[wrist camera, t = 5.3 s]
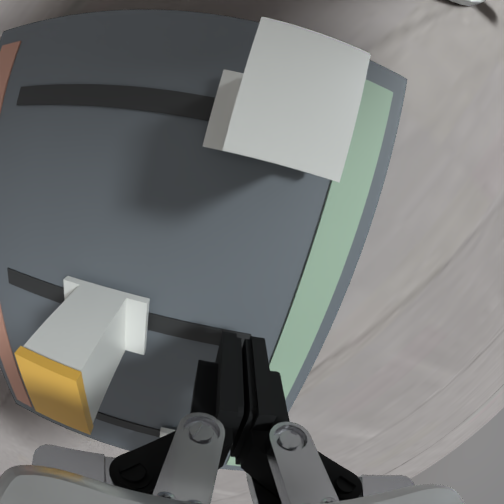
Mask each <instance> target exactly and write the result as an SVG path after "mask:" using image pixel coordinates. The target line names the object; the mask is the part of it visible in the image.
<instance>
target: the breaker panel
mask: <svg viewBox="0 0 504 504" xmlns="http://www.w3.org/2000/svg"><path fill="white" fill-rule="evenodd" d="M258 26H259V22H255V21H250V20H245V19H240V18H234V17H228V16H222V15H215V14H208V13H199V12H189V11H175V10H114V11H101V12H91V13H83V14H76V15H69V16H63V17H58V18H53V19H48V20H43V21H39V22H35V23H31V24H27V25H23V26H20V27H16V28H13V29H9V30H6V31H4V32H3V34H2V37H1V39H0V366H1V369H2V372H3V374H4V377H5V379H6V382H7V384H8V386H9V389H10V391H11V393H12V396H13V398H14V400H15V402H16V404H18V405H20V406H22V407H24V408H25V409H27V410H29V411H31V412H33V413H35V414H37V415H39V416H41V417H43V418H45V419H47V420H49V421H51V422H53V423H56V424H58V425H60V426H62V427H65V428H67V429H69V430H72V431H74V432H77V433H79V434H82V435H84V436H87V437H89V438H92V439H95V440H98V441H100V442H103V443H106V444H109V445H112V446H116V447H119V448H122V449H125V450H129V451H132V450H134V449H137V448H139V447H141V446H143V445H146V444H148V443H150V442H152V441H154V440H157V439H159V438H160V429H161V427H164V428H168V429H173V430H177V427H178V424H179V422H180V421H181V419H182V418H183V417H184V416H186V415H188V414H190V410H191V403H192V396H193V389H194V382H195V376H196V371H197V365H198V360H204V361H209V362H215V361H216V357H217V352H218V348H219V344H220V340H221V335H222V332H223V331H225V332H230V333H236V334H237V337H238V338H241V342H242V346H243V343H244V340H245V339H249V338H250V336H254V337H260V338H265V342H266V349H267V355H268V362H269V368H270V371H277V372H279V373H280V376H281V381H282V386H283V391H284V396H285V401H286V406H287V411H288V412H289V410H290V408H291V407H292V405H293V403H294V401H295V399H296V397H297V395H298V394H299V392H300V390H301V388H302V386H303V384H304V382H305V380H306V378H307V376H308V374H309V372H310V370H311V368H312V366H313V364H314V362H315V360H316V358H317V356H318V354H319V352H320V350H321V348H322V346H323V344H324V341H325V339H326V337H327V335H328V333H329V330H330V328H331V326H332V324H333V321H334V319H335V317H336V315H337V312H338V310H339V308H340V305H341V303H342V300H343V298H344V296H345V293H346V291H347V288H348V286H349V283H350V281H351V278H352V276H353V273H354V270H355V268H356V265H357V262H358V260H359V257H360V254H361V252H362V249H363V246H364V243H365V240H366V237H367V235H368V232H369V229H370V226H371V223H372V220H373V217H374V213H375V210H376V207H377V204H378V201H379V197H380V194H381V191H382V187H383V184H384V180H385V177H386V173H387V170H388V166H389V162H390V158H391V154H392V150H393V146H394V142H395V138H396V134H397V129H398V125H399V120H400V116H401V111H402V106H403V101H404V95H405V90H406V84H407V79H406V78H404V77H403V76H401V75H399V74H397V73H395V72H393V71H391V70H389V69H387V68H385V67H383V66H381V65H379V64H377V63H375V62H373V61H371V60H369V65H368V70H367V75H366V80H365V84H364V89H363V93H362V98H361V102H360V106H359V111H358V115H357V119H356V123H355V127H354V131H353V135H352V139H351V143H350V146H349V150H348V154H347V158H346V161H345V165H344V169H343V172H342V176H341V179H340V183H339V182H336V181H333V180H330V179H327V178H323V177H320V176H316V175H313V174H310V173H306V172H303V171H300V170H296V169H293V168H289V167H286V166H282V165H278V164H275V163H271V162H267V161H263V160H259V159H255V158H251V157H247V156H243V155H239V154H235V153H230V152H226V151H221V150H217V149H212V148H207V147H203V142H204V138H205V134H206V130H207V126H208V123H209V119H210V115H211V112H212V108H213V104H214V101H215V97H216V94H217V90H218V87H219V83H220V80H221V77H222V73H223V70H224V69H225V70H230V71H235V72H240V73H244V70H245V67H246V64H247V60H248V57H249V54H250V51H251V48H252V44H253V41H254V38H255V35H256V32H257V29H258ZM67 276H70V277H74V278H77V279H80V280H84V281H87V282H90V283H94V284H97V285H101V286H104V287H108V288H111V289H115V290H119V291H122V292H126V293H130V294H134V295H138V296H142V297H146V298H149V299H150V303H149V314H148V327H147V342H146V351H145V354H144V355H141V354H138V353H134V352H130V351H127V350H125V352H124V354H123V356H122V358H121V360H120V363H119V365H118V367H117V369H116V371H115V373H114V376H113V378H112V380H111V382H110V384H109V387H108V389H107V391H106V394H105V396H104V398H103V400H102V403H101V405H100V407H99V410H98V412H97V415H96V417H95V419H94V422H93V426H94V427H93V429H92V432H91V434H90V435H89V434H87V433H84V432H81V431H79V430H76V429H74V428H72V427H69V426H67V425H64V424H62V423H60V422H58V421H55V420H53V419H51V418H49V417H47V416H45V415H43V414H41V413H39V412H37V411H36V410H35V408H34V406H33V404H32V401H31V399H30V396H29V394H28V391H27V389H26V386H25V383H24V381H23V378H22V375H21V372H20V369H19V366H18V363H17V360H16V357H15V354H14V353H15V352H16V350H17V349H18V348H19V347H20V346H22V347H23V346H24V345H25V343H26V342H27V341H28V340H29V339H30V338H31V336H32V335H33V334H34V333H35V332H36V331H37V330H38V329H39V327H40V326H41V325H42V324H43V323H44V322H45V321H46V320H47V319H48V318H49V316H50V315H51V314H52V313H53V312H54V311H55V310H56V309H57V308H58V307H59V306H60V305H61V304H62V303H63V302H64V301H65V299H64V283H63V279H64V278H66V277H67ZM220 469H230V470H242V471H244V470H243V469H242V468H241V465H236V464H235V457H231V456H230V451H229V453H228V456H227V458H226V460H225V463H224V465H223V467H221V468H220Z"/></svg>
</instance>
